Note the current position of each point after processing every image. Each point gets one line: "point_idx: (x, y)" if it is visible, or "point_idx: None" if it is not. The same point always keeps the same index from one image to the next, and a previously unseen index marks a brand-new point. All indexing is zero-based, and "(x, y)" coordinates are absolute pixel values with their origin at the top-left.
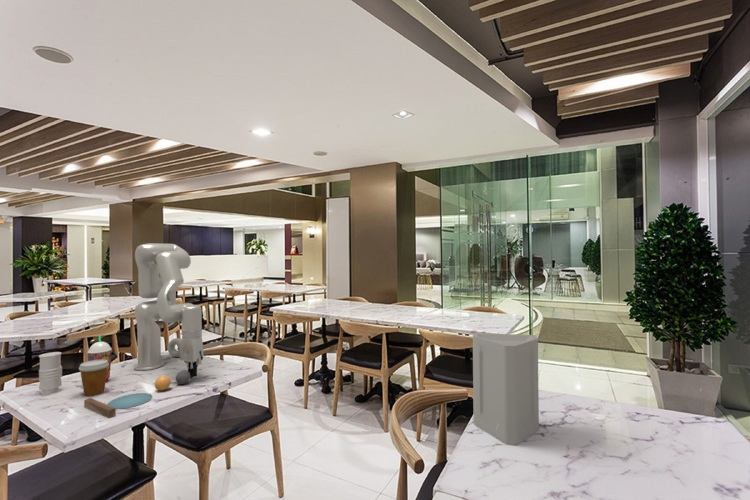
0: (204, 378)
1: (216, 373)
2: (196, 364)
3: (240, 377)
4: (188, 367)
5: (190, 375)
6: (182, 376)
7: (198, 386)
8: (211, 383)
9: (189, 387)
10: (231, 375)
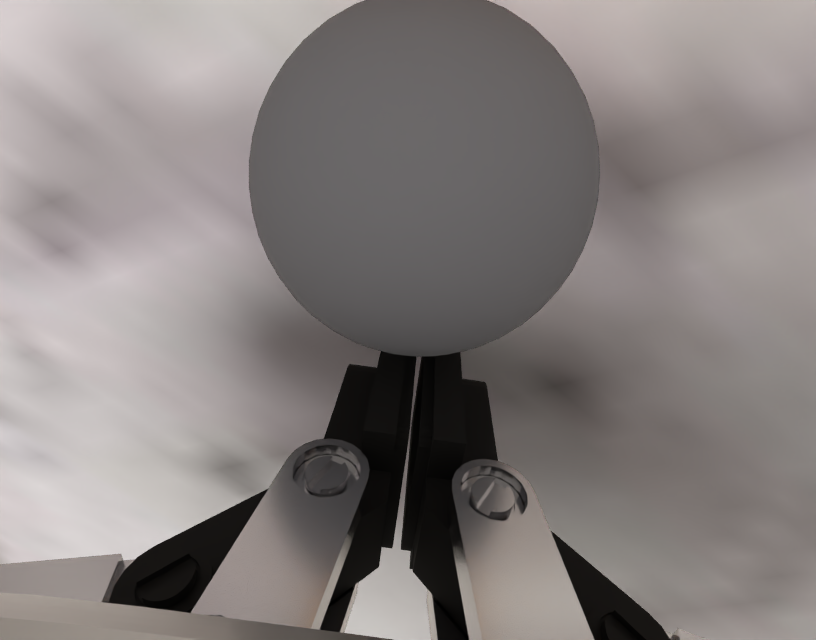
0: None
1: None
2: (103, 574)
3: (7, 540)
4: (459, 470)
5: None
6: (283, 72)
7: (79, 172)
8: (58, 331)
9: (157, 70)
10: None
